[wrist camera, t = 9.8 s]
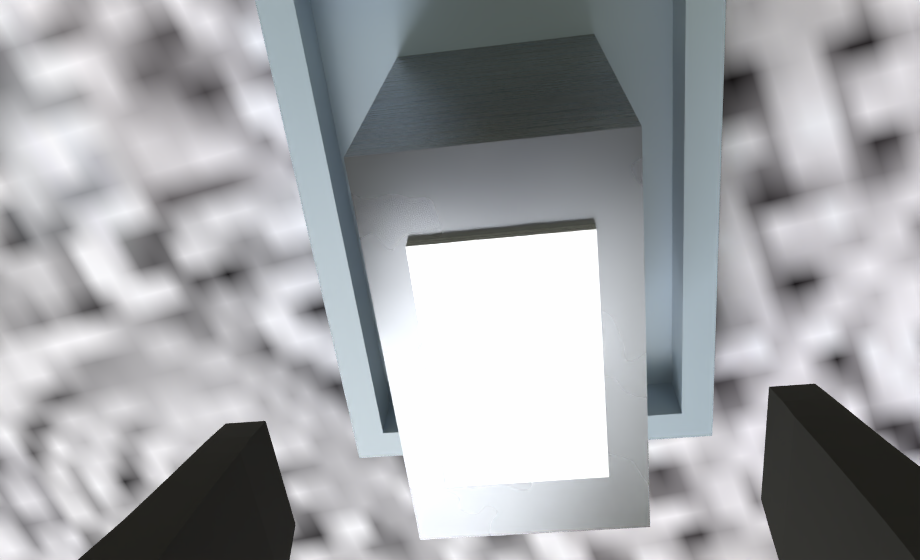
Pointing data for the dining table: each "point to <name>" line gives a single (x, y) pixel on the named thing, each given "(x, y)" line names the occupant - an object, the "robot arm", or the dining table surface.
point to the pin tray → (496, 23)
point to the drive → (510, 285)
